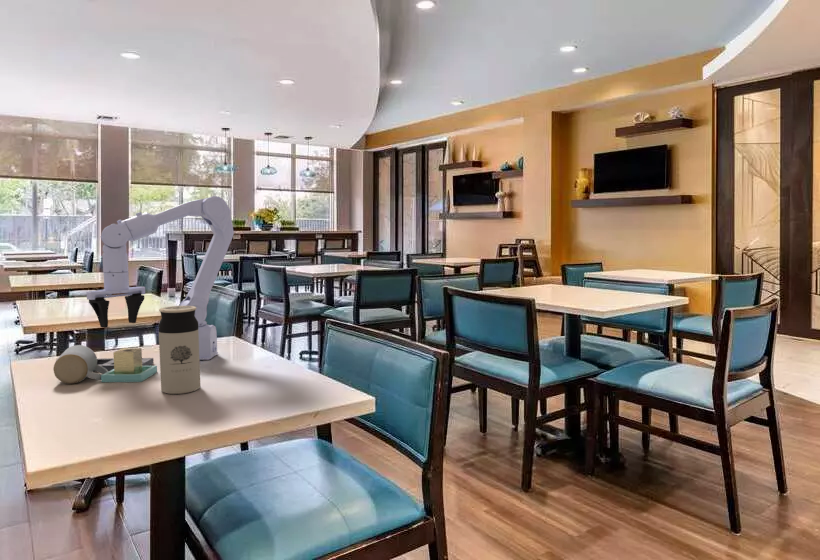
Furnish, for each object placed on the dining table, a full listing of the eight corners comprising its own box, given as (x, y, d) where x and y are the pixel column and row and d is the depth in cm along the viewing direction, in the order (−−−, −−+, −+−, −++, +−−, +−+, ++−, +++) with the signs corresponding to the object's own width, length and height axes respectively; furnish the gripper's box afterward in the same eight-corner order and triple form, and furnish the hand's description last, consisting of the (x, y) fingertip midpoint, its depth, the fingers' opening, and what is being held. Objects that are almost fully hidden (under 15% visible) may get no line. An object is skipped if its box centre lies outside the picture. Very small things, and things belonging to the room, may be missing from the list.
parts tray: (157, 372, 142) (156, 365, 142) (141, 381, 133) (141, 374, 133) (119, 372, 141) (119, 366, 141) (101, 382, 133) (101, 375, 132)
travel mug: (165, 386, 129) (162, 306, 128) (202, 383, 131) (200, 304, 129) (157, 396, 122) (153, 311, 120) (197, 393, 123) (194, 309, 122)
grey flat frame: (153, 363, 151) (153, 357, 150) (140, 371, 143) (140, 365, 142) (83, 364, 150) (82, 358, 150) (65, 371, 142) (65, 365, 142)
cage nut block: (123, 373, 139) (122, 348, 139) (142, 372, 139) (141, 347, 139) (114, 377, 135) (113, 352, 134) (134, 377, 135) (133, 351, 134)
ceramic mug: (51, 386, 129) (50, 352, 128) (62, 377, 137) (61, 345, 136) (104, 383, 132) (103, 350, 132) (111, 374, 140) (110, 343, 139)
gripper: (96, 274, 139) (99, 330, 140) (151, 270, 151) (153, 322, 152) (80, 273, 143) (83, 328, 144) (135, 269, 155) (137, 320, 156)
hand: (118, 324), depth 148 cm, fingers open, 7 cm apart
